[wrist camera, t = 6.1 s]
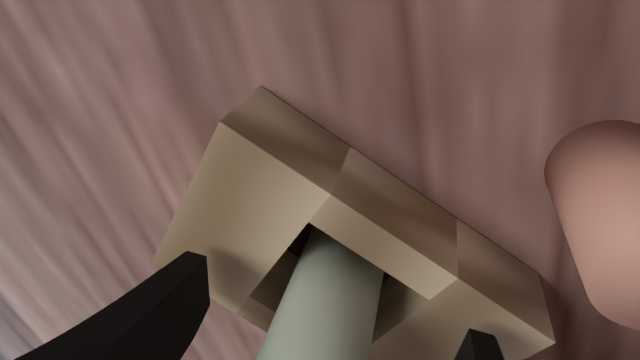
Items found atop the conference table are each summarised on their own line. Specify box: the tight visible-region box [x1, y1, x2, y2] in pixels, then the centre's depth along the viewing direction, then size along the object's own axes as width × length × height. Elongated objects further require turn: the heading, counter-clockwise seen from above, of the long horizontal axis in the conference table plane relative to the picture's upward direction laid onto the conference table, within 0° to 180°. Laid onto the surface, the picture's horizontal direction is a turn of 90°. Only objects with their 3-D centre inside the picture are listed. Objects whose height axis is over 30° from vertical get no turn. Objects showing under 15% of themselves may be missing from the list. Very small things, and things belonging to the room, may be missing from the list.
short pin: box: [544, 120, 640, 331], centre depth 9 cm, size 3×3×4 cm
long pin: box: [255, 226, 384, 360], centre depth 11 cm, size 3×3×8 cm
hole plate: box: [152, 86, 556, 360], centre depth 13 cm, size 10×6×2 cm, turn 59°
